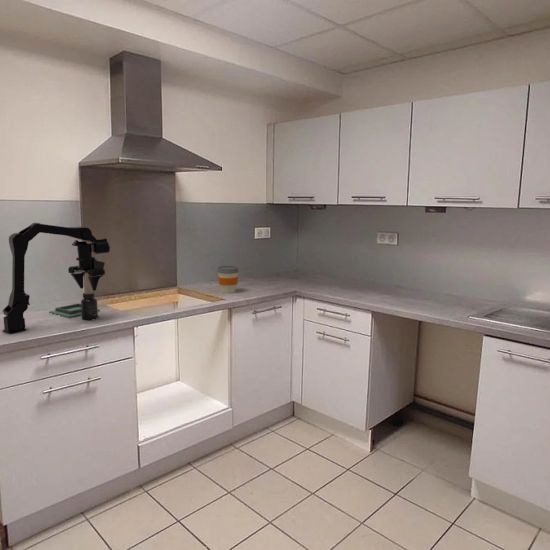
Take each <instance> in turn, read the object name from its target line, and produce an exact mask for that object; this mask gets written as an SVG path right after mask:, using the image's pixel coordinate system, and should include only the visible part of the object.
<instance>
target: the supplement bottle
mask: <svg viewBox="0 0 550 550" xmlns="http://www.w3.org/2000/svg"><path fill="white" fill-rule="evenodd" d="M80 304H81V313H82V316H81V319H82V320H83V321H93V320H92V319H95V320H97V319H98V318H99V312H98V309H99V308H98V299H96V297H95V291H88V292H87V291H86V292H82V299H81V300H80ZM96 318H97V319H96Z"/></svg>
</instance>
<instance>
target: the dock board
mask: <svg viewBox="0 0 550 550" xmlns="http://www.w3.org/2000/svg"><path fill="white" fill-rule="evenodd" d="M97 309H98V311H99V312H101V309H99V308H97ZM50 313H52V314H51V315H54V314H56V315H55V316H58V315H60V316H59V317H62V316H63V317H62V318H66V317H67V318H66V319H73V318H77V317H76V316H78V317H81V316H80V315H82V313H81V303H79V302H78V303H74V304H70V305H63V306H58V307H55V309H54V310H49V312H48V314H50ZM72 317H73V318H72Z"/></svg>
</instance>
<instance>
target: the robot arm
mask: <svg viewBox="0 0 550 550" xmlns="http://www.w3.org/2000/svg"><path fill="white" fill-rule="evenodd" d="M40 233H42V234H51V235H60V236H67V237H70V238H74V239H75V240H74V242H72V244H71V246H73V247H77V257H76V258H75V259H76V261H78V265H72V266H69V267H68V270H67V271H68V273H69V274H70V276H72V278H73V279H74V280H75V282H76V284H77V285H78V286H79V288H80V289H84V276H86V275H85V274H87V275H88V281H89V283H90V286H91V288H92V292H95V291H97V287H98V283H99V280H100V279H101V278H102V277H103V276H104V275H106V269H105V263H106V262H103V261H100V260H97V259H96V257H94V256H93V254H95V255H100V254H110V249H111V248H110V245H109V244H110V243H109V242H108V239H107V238H105V237H104V238H99V239H98V238H96V237H95V236H94V235H93V234H92V233H93V232H92V230H91V229H90V228H88V227H87V226H68V227H67V226H59V225H52V224H45V223H39V222H32V223H31V224H30V225H28V226H27V227H25V228H24V229H21V230H20V231H18V232H14V233H12V234H10V235H9V237H8V244H9V248H10V252H11V256H12V263H11V264H12V267H11V268H12V271H11V272H12V277H11V278H12V279H11V280H12V281H11V282H12V286H11V287H12V288H11V292H10V295H9V296H8V297H9V298H8V303H7V305H6V306H5V307H4V309H3V310H2V313H3V314H4V316H3V327H4V329H2V332H3V333H7V334H15V333H20V332H24V331H27V328H26V319H25V317H24V314H25V312H26V311H27V310H28V308H29V306H30V305H31V303H30V294H28V293H26V292H25V257H26V254H27V251H28V247H29V242H30V241H32V240H33V239H34V238H35V237H37V235H39V234H40ZM76 239H77V240H76ZM79 240H80V241H79ZM81 240H82V241H81ZM87 242H88V243H87Z"/></svg>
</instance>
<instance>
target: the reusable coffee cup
mask: <svg viewBox="0 0 550 550" xmlns="http://www.w3.org/2000/svg"><path fill="white" fill-rule="evenodd" d="M217 273H218V274H217V275H218V277H217V279H218V285H219V287H220V293H222V294H235V293H236V292H237V285H238V280H239V266H234V265H233V266H232V265H225V266H224V265H223V266H218V267H217Z"/></svg>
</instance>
